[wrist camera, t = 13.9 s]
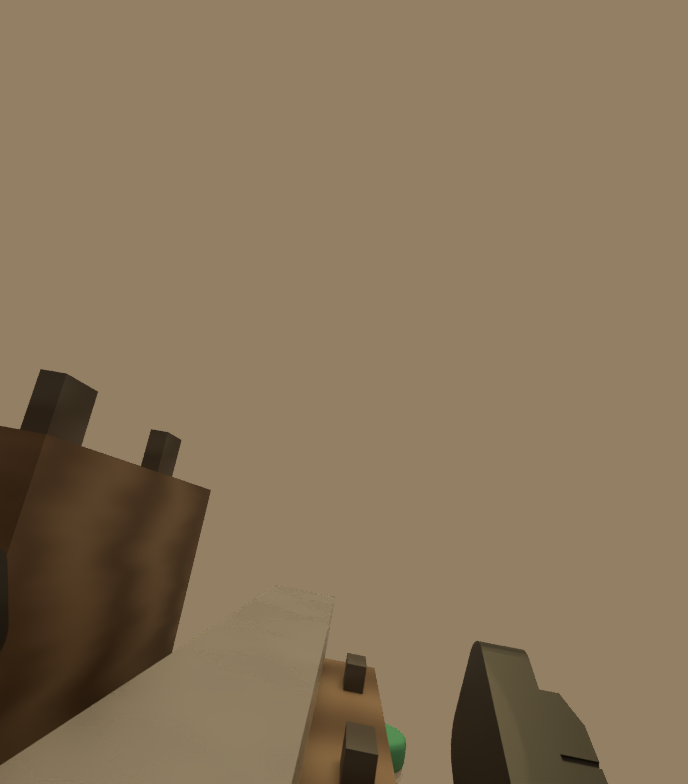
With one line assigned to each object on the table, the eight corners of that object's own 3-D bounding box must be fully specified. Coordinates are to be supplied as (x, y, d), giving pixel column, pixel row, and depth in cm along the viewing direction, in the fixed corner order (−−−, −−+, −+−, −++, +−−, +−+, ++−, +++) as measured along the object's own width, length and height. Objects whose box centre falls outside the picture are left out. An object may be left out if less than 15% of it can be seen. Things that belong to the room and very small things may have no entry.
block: (45, 2049, 2) (221, 1078, 3) (-626, 1815, 2) (-289, 954, 3) (323, 662, 25) (335, 596, 26) (262, 650, 25) (275, 585, 26)
